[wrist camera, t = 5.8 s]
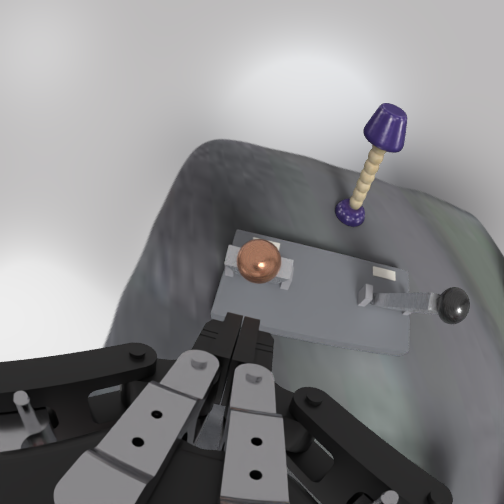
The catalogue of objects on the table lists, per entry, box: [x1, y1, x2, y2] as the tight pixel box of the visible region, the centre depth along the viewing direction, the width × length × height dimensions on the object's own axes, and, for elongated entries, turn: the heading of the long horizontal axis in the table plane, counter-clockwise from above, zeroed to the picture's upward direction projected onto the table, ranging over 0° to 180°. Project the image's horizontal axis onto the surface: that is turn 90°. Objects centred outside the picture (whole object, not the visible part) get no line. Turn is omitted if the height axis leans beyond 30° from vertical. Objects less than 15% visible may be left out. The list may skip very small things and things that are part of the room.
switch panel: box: [211, 229, 412, 356], centre depth 29 cm, size 10×21×4 cm, turn 77°
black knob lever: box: [370, 287, 470, 324], centre depth 21 cm, size 3×4×13 cm, turn 77°
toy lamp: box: [335, 103, 407, 227], centre depth 30 cm, size 5×5×17 cm
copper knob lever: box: [224, 239, 294, 284], centre depth 22 cm, size 3×4×13 cm, turn 77°
